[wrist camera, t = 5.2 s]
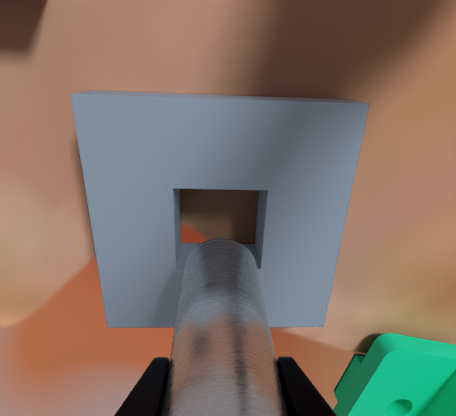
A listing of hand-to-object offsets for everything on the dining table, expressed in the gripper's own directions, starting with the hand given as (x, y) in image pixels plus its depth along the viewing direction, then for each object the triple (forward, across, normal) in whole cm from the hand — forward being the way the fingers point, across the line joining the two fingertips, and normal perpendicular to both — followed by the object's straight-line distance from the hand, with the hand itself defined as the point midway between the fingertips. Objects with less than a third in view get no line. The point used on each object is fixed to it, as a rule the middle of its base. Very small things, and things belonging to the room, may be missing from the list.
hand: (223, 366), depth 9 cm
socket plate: (+12, 0, 0) cm, 12 cm away
